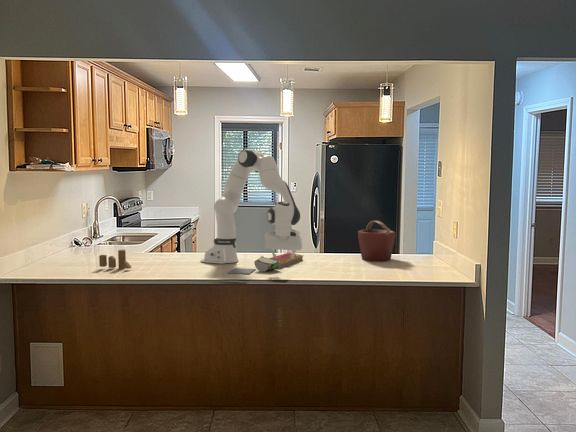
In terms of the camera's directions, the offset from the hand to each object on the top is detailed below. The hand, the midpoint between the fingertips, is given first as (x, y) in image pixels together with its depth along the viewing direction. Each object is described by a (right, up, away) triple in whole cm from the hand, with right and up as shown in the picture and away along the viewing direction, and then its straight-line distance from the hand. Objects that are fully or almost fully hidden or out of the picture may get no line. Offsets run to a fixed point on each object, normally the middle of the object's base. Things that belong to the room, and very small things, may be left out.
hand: (283, 258), depth 295 cm
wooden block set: (-92, -7, +10) cm, 93 cm away
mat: (-23, -8, +5) cm, 25 cm away
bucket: (+57, -6, +46) cm, 73 cm away
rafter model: (-1, -7, +32) cm, 33 cm away
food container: (-12, -6, +5) cm, 14 cm away
